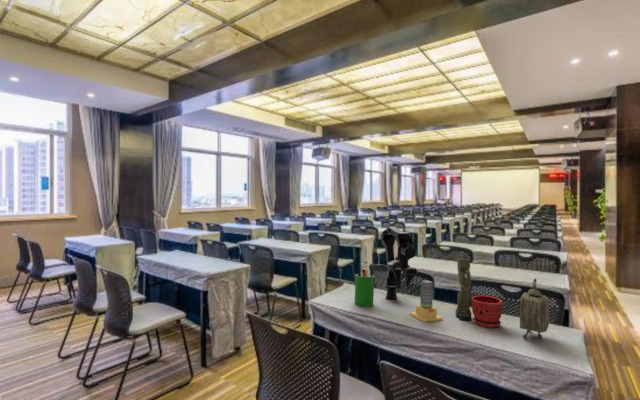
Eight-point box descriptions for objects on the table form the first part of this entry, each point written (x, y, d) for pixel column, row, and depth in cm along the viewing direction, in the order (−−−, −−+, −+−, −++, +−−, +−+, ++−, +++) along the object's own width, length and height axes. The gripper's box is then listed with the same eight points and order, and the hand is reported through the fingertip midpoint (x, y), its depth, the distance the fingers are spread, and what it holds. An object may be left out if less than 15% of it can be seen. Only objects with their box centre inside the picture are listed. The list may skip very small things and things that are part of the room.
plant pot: (477, 317, 169) (477, 293, 169) (505, 324, 160) (506, 299, 160) (466, 323, 160) (466, 298, 160) (496, 331, 151) (496, 304, 151)
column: (420, 304, 169) (420, 280, 169) (427, 304, 170) (427, 280, 170) (425, 307, 165) (425, 282, 165) (432, 306, 167) (433, 282, 167)
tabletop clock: (525, 329, 155) (526, 274, 155) (548, 334, 149) (550, 277, 149) (519, 339, 143) (520, 279, 143) (544, 345, 138) (546, 283, 138)
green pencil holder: (372, 302, 190) (373, 266, 190) (373, 307, 182) (374, 269, 182) (354, 301, 191) (355, 265, 191) (354, 306, 183) (355, 268, 183)
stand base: (410, 314, 171) (410, 304, 171) (428, 312, 175) (428, 302, 175) (423, 322, 161) (423, 311, 161) (442, 319, 164) (442, 309, 164)
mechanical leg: (475, 322, 160) (473, 257, 167) (459, 320, 161) (457, 257, 168) (468, 319, 173) (467, 259, 180) (453, 318, 174) (452, 259, 181)
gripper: (381, 253, 190) (380, 281, 189) (399, 258, 172) (398, 289, 172) (398, 252, 193) (397, 280, 193) (418, 258, 176) (417, 288, 176)
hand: (402, 284), depth 183 cm, fingers open, 9 cm apart
